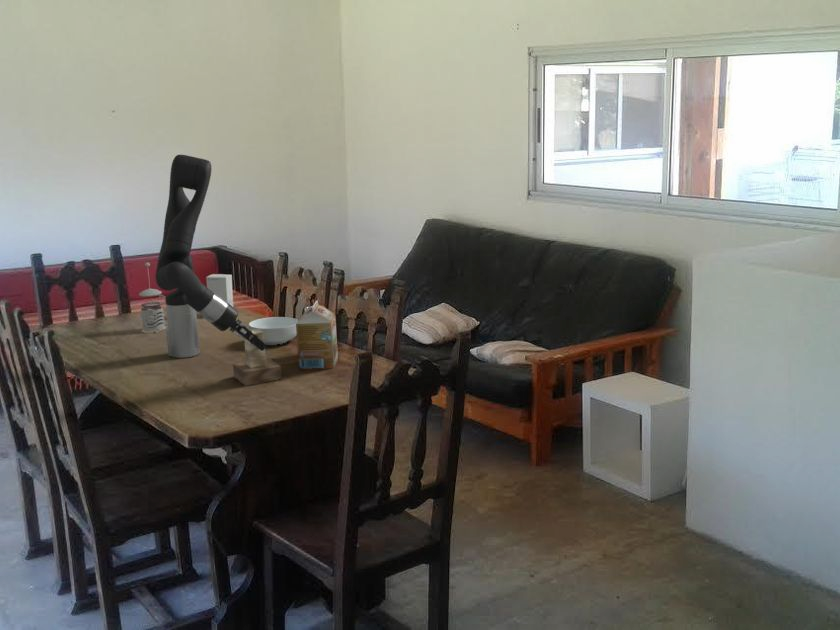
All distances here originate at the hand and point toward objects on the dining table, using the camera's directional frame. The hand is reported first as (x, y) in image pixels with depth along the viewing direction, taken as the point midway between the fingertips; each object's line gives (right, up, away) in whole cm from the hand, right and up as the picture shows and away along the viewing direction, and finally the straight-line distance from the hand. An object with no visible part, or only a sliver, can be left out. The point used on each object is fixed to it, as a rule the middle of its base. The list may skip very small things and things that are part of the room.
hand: (260, 345), depth 274 cm
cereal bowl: (-2, 0, +43) cm, 43 cm away
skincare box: (-30, +9, +88) cm, 94 cm away
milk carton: (+16, -6, +14) cm, 22 cm away
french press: (-50, +3, +68) cm, 84 cm away
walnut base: (-1, -10, +1) cm, 10 cm away
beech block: (-1, -6, 0) cm, 6 cm away
